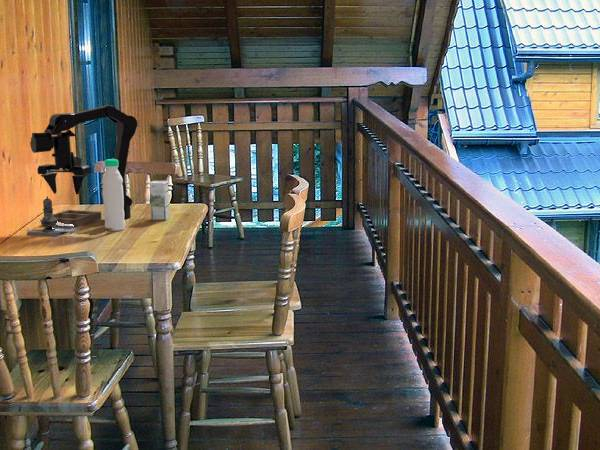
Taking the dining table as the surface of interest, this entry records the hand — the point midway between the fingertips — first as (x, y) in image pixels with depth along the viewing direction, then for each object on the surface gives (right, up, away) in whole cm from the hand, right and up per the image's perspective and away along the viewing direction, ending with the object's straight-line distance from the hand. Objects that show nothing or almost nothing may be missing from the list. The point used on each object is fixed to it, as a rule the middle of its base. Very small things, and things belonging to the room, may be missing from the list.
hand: (66, 193), depth 296 cm
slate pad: (-4, -14, -5) cm, 15 cm away
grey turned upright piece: (-4, -13, -5) cm, 15 cm away
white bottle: (+17, -13, 0) cm, 22 cm away
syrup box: (+30, -9, +18) cm, 37 cm away
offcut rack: (0, -11, +8) cm, 14 cm away
